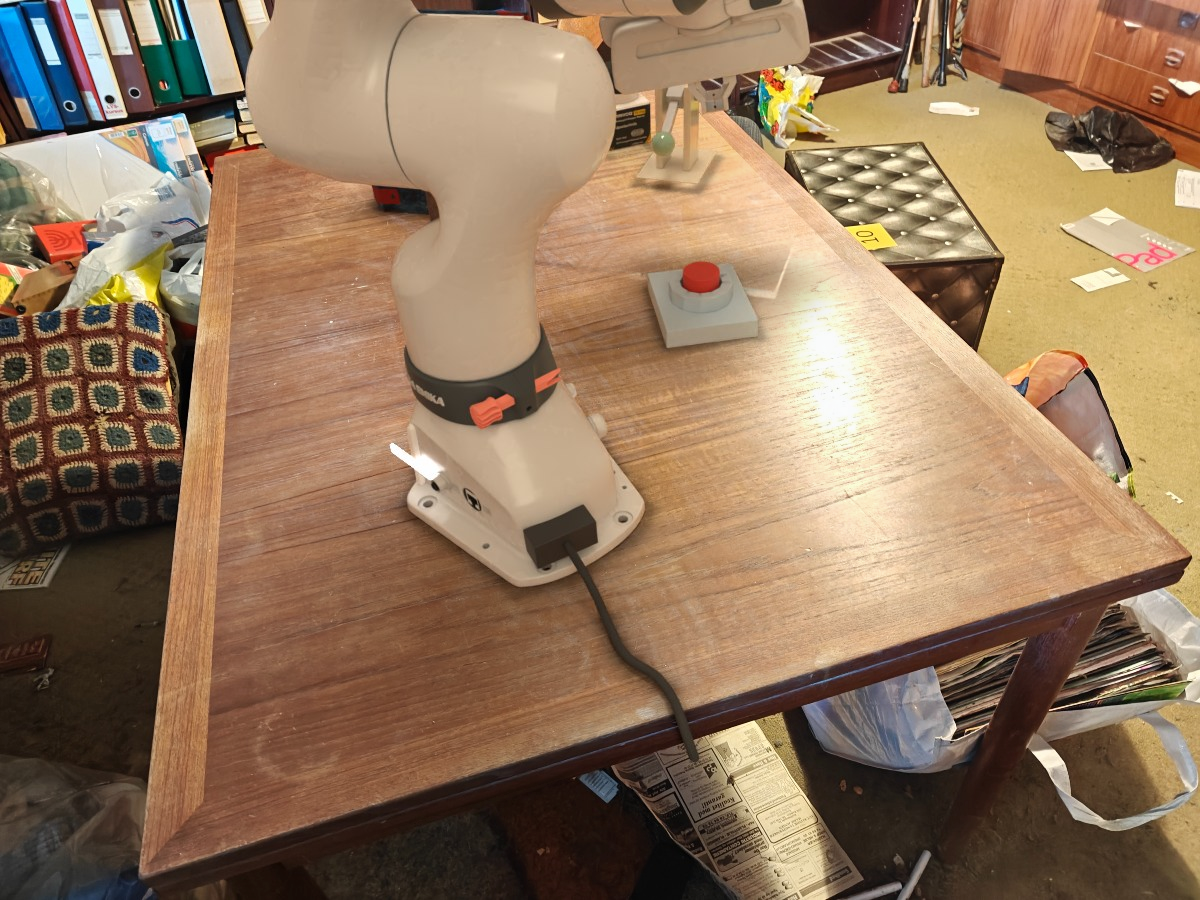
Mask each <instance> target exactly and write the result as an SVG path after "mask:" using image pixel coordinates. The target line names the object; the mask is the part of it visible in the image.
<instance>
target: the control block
mask: <svg viewBox="0 0 1200 900" xmlns="http://www.w3.org/2000/svg"><path fill="white" fill-rule="evenodd" d="M715 265H716V266H717V267H718V268H719V270H720V277H719V287H718V288H717V289H716V290H714V291H712V292H707V293H694V292H689V291H688V290H686V289H684V287H683V269H684V267H683V268H679V269H672V270H665V271H655V272H648V273H647V275H646V276H647V291H648V294H649V298H650V300H651V304H652V306H653V307H652V308H653V310H654V313H655V315H656V318H657V322H658V325H659V328H660V332H661V335H662V337H663V340H664V341H663V342H664V344H665V347H666V348H668V349H669V348H678V347H684V346H685V347H686V346H693V345H700V344H709V343H717V342H724V341H732V340H739V339H748V338H754V337H756V338H757V337H758V332H759V320H760V319H759V317H758V316H757V313H756V312H755V309H754V307H753V305H752V303H751V301H750V299H749V297H748V294H747V293H746V290H745V288H744V285H743V284H742V282H741V280H740V278H739V276H738V274H737V272H736V269H735V268H734V265H733V263H732V262H730V263H728V262H727V263H721V264H715Z"/></svg>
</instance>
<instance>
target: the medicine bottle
mask: <svg viewBox="0 0 1200 900" xmlns="http://www.w3.org/2000/svg"><path fill="white" fill-rule="evenodd" d="M604 63H605V65H606V67H607V69H608V72H609V75H610V78H611V81H612V84H613V88H614V93H615V99H616V124H615V131H614V136H613V140H612V143H611V146H610V149H609V151H608V152H611V151H612V152H613V151H616V150H621V149H625V148H630V147H634V146H638V145H643V144H648V143H651V141H652V125H651V124H652V123H651V122H652V121H651V119H652V118H651V116H652V115H651V101H650V100H649V99H647V98H646V97H645V96H644V95H643V94H641V92H640V93H635V94H629V95H624V94H622V93H621V92H619V91H618V90H617V89H616V88H615V85H614V80H613V73H612V62H611V59H610V60H608V61H605V62H604Z"/></svg>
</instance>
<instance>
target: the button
mask: <svg viewBox="0 0 1200 900" xmlns="http://www.w3.org/2000/svg"><path fill="white" fill-rule="evenodd" d="M716 265H717V264H715V263H712V262H709V261H702V260H701V261H693V262H690V263H688V264H686V265H684V267H683V268H684V269H683V268H682V269H683V287H684V289H686V290H688V291H689V292H694V293H707V292H712V291H714V290H716V289H717V288H718V287H719V277H720V270H719V268H718V267H717V266H716Z"/></svg>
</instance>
